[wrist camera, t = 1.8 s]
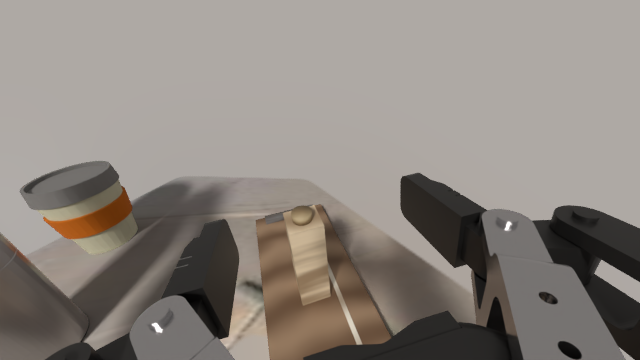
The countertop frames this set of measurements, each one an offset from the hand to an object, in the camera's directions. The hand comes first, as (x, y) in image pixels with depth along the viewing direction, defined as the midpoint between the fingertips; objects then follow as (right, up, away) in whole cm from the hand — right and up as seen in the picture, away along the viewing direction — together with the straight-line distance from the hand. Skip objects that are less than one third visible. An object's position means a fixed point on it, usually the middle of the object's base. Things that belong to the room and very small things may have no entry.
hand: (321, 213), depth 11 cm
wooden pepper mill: (-1, -14, +23) cm, 27 cm away
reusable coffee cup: (-44, -11, +39) cm, 59 cm away
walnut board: (-2, -14, +27) cm, 31 cm away
